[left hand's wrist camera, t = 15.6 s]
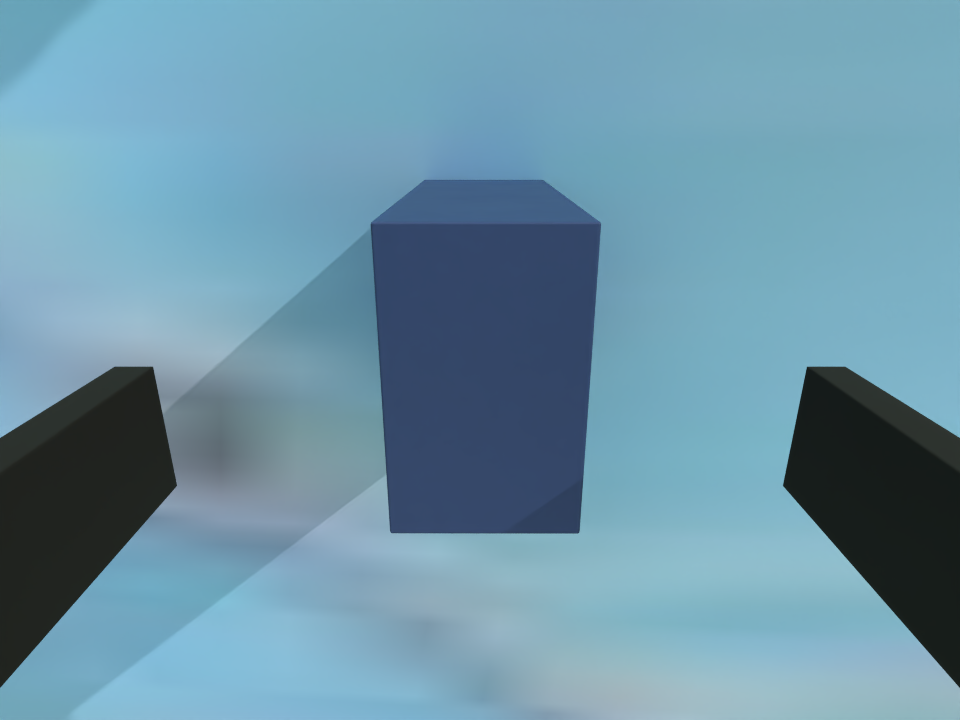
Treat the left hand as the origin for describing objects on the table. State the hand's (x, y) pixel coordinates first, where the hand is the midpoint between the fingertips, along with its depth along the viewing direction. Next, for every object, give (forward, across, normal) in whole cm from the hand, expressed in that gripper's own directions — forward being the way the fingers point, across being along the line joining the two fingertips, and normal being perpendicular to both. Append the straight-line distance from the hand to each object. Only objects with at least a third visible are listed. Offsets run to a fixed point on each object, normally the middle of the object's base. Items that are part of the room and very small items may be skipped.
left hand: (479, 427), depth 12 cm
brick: (+13, 0, 0) cm, 13 cm away
